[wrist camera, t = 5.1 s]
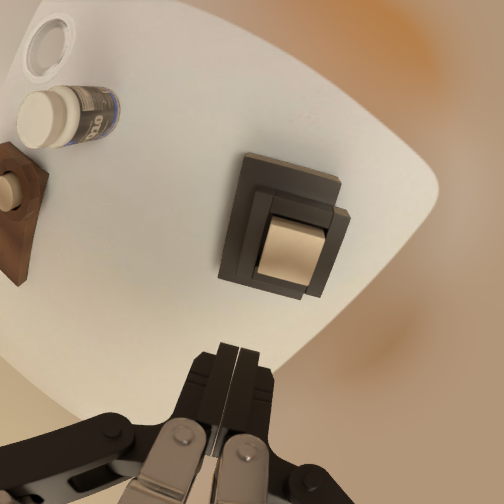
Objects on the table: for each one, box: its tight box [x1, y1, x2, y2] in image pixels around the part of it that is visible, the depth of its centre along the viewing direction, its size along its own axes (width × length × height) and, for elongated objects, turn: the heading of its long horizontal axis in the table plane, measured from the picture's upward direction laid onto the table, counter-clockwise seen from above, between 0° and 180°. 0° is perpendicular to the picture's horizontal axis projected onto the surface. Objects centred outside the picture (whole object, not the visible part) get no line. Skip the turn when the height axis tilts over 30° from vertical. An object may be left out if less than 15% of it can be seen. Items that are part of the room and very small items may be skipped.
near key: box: [257, 216, 325, 286], centre depth 21 cm, size 4×4×2 cm
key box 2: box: [218, 153, 351, 300], centre depth 23 cm, size 10×8×4 cm
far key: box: [0, 173, 23, 212], centre depth 22 cm, size 4×4×2 cm
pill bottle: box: [17, 86, 120, 149], centre depth 19 cm, size 5×5×8 cm
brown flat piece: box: [0, 142, 49, 287], centre depth 26 cm, size 17×9×4 cm, turn 146°
